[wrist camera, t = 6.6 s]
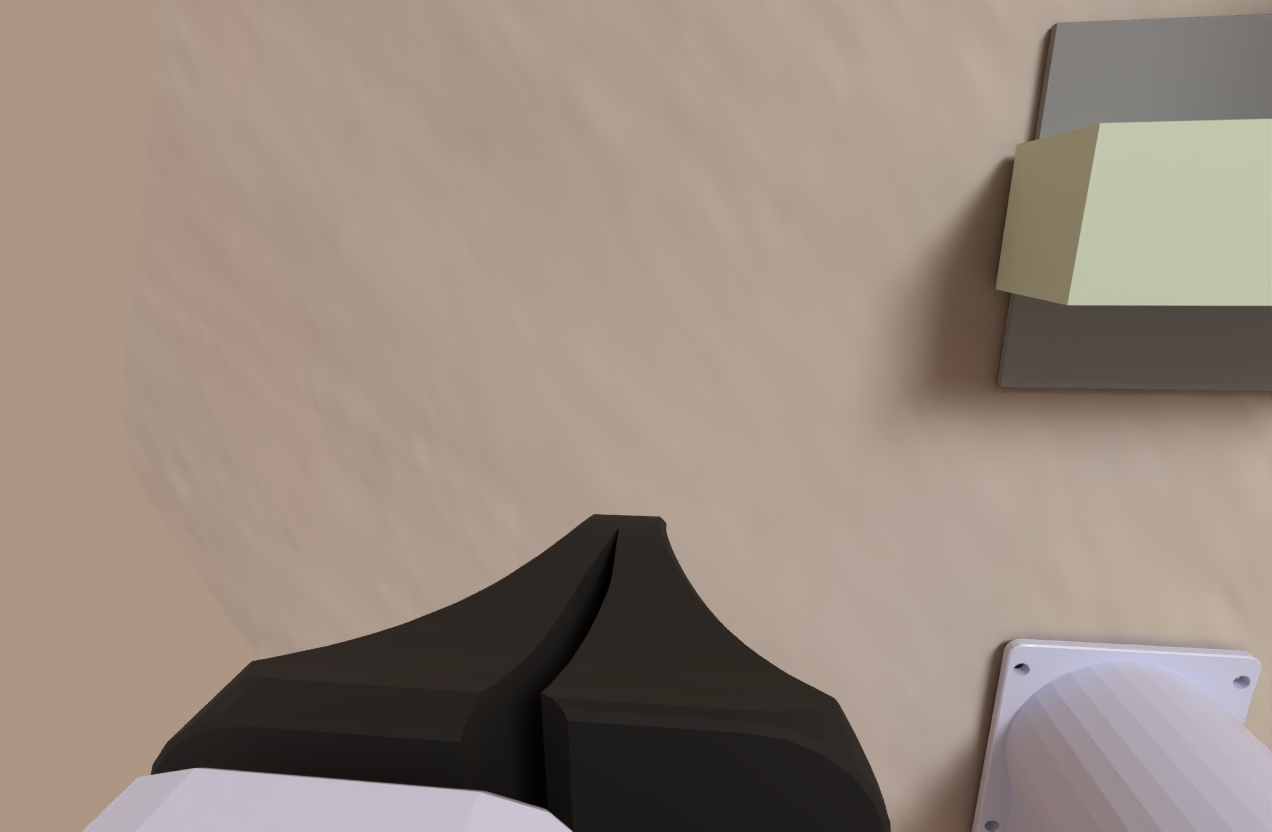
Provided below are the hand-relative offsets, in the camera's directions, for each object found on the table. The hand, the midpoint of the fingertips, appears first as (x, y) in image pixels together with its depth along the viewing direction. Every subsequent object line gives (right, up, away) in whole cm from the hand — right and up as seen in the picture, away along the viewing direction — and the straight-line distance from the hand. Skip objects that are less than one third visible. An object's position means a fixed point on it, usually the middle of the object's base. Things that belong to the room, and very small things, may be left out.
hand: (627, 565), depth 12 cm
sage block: (+11, +8, +5) cm, 14 cm away
